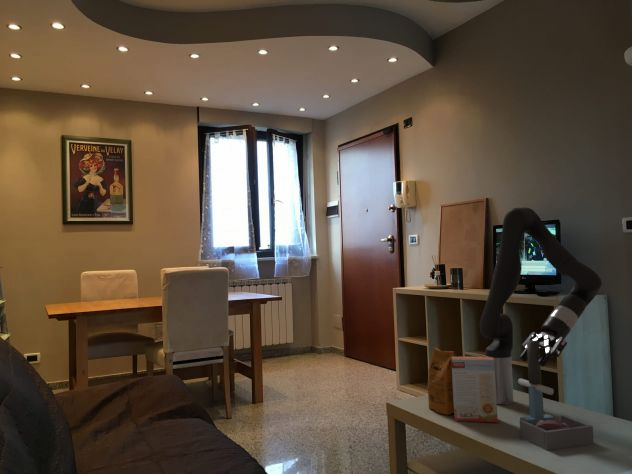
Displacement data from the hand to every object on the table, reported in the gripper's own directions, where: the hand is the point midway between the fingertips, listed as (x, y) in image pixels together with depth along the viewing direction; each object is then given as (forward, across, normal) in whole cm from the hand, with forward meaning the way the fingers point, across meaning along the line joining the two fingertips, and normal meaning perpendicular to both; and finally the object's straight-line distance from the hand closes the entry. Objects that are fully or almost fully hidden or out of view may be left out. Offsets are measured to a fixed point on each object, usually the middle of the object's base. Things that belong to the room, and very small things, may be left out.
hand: (531, 362), depth 156 cm
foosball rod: (+14, 0, +16) cm, 22 cm away
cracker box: (+22, -18, +9) cm, 30 cm away
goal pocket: (+14, +8, +16) cm, 23 cm away
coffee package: (+25, -30, +6) cm, 40 cm away
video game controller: (+14, +6, +17) cm, 23 cm away
